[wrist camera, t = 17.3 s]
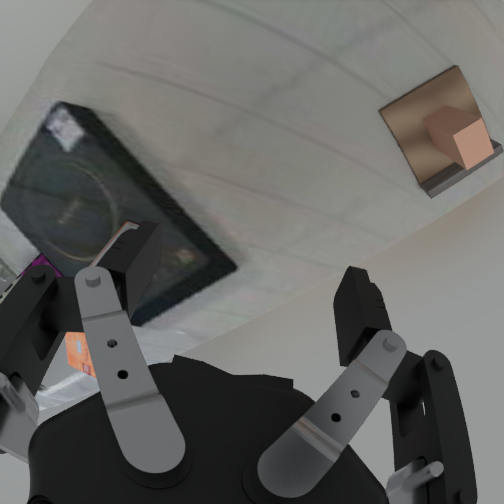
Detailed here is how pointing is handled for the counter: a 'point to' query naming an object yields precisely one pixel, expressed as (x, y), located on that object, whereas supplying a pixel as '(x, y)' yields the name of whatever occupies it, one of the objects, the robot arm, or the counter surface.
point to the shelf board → (417, 137)
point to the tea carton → (459, 136)
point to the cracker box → (77, 340)
